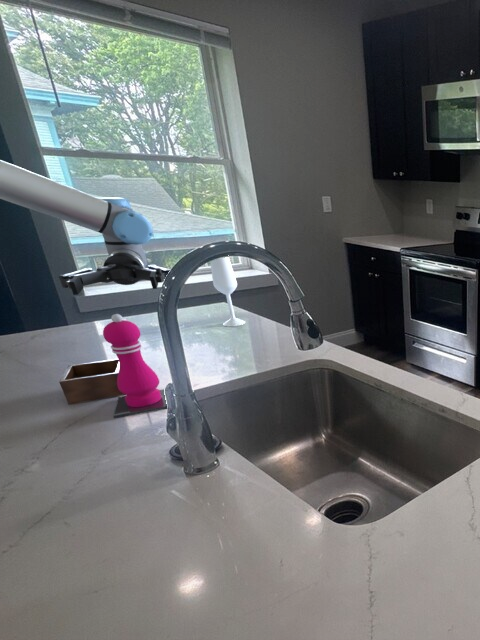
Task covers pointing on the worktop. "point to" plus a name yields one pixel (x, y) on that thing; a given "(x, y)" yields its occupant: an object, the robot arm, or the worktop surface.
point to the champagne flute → (225, 285)
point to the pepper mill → (131, 363)
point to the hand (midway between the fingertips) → (114, 285)
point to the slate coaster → (126, 410)
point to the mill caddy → (91, 381)
